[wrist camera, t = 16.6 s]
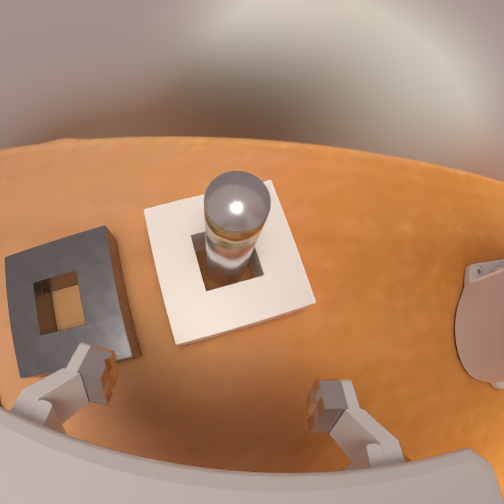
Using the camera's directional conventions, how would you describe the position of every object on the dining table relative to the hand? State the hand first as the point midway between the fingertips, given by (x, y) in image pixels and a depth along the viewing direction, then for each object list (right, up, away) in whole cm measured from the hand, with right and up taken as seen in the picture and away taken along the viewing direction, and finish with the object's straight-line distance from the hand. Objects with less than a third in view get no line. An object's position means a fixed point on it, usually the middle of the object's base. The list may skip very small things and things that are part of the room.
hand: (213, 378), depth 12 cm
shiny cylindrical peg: (-1, +3, +19) cm, 20 cm away
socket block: (-16, -1, +16) cm, 23 cm away
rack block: (-1, +3, +19) cm, 20 cm away
